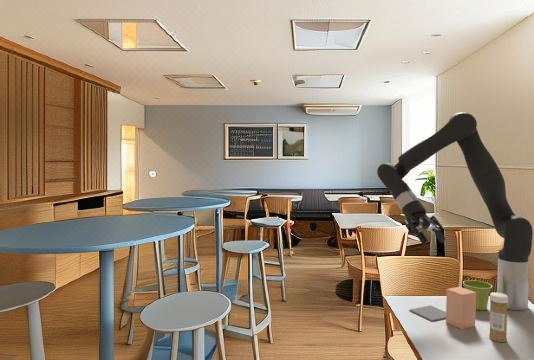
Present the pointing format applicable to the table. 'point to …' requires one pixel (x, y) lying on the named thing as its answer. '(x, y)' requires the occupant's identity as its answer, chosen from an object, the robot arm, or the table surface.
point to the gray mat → (430, 313)
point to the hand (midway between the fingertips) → (434, 242)
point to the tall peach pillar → (461, 307)
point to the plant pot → (479, 292)
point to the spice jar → (498, 316)
